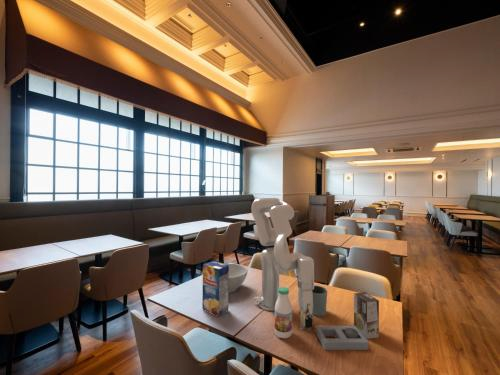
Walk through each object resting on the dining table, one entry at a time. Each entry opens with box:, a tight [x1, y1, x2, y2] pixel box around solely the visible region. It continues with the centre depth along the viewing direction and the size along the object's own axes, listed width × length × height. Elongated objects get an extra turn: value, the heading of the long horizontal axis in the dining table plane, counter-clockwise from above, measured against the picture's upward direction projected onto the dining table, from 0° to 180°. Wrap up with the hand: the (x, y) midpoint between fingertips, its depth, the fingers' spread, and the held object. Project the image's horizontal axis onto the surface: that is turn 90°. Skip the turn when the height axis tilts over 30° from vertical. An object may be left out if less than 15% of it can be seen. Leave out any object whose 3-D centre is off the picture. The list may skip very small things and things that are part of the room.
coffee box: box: [353, 291, 380, 340], centre depth 105 cm, size 9×6×16 cm
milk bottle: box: [274, 286, 293, 339], centre depth 103 cm, size 8×8×20 cm
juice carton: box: [201, 260, 229, 317], centre depth 123 cm, size 12×8×24 cm, turn 55°
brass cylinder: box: [299, 310, 311, 332], centre depth 107 cm, size 4×4×9 cm
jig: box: [315, 325, 370, 351], centre depth 99 cm, size 18×11×4 cm, turn 91°
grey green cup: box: [312, 284, 328, 317], centre depth 121 cm, size 10×10×12 cm
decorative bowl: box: [225, 262, 249, 294], centre depth 149 cm, size 27×27×12 cm
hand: (306, 321), depth 107 cm, fingers open, 9 cm apart
